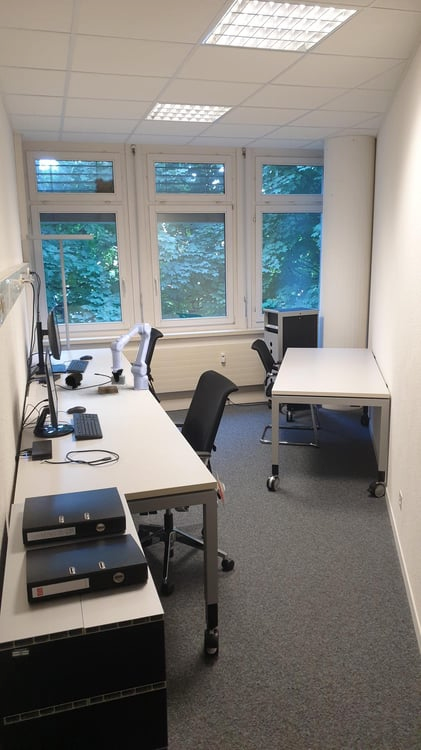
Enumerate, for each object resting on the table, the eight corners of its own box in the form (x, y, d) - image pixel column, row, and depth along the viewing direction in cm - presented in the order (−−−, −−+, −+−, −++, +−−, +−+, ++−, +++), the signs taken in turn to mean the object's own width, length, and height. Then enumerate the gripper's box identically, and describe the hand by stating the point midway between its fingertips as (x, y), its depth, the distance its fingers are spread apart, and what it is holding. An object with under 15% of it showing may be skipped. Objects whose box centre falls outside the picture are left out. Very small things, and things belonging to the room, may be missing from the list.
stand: (116, 388, 366) (116, 385, 365) (118, 392, 354) (118, 389, 354) (98, 390, 363) (98, 386, 362) (99, 394, 351) (99, 390, 351)
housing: (125, 383, 352) (125, 375, 351) (123, 384, 348) (123, 376, 347) (112, 382, 353) (112, 375, 352) (110, 384, 348) (110, 376, 347)
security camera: (84, 384, 378) (83, 370, 376) (75, 391, 360) (74, 376, 358) (74, 384, 379) (74, 370, 377) (65, 391, 361) (64, 376, 359)
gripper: (113, 358, 354) (114, 378, 357) (107, 362, 340) (108, 383, 343) (124, 358, 354) (125, 378, 357) (119, 362, 340) (119, 383, 343)
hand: (118, 381), depth 350 cm, fingers closed on housing, 4 cm apart
